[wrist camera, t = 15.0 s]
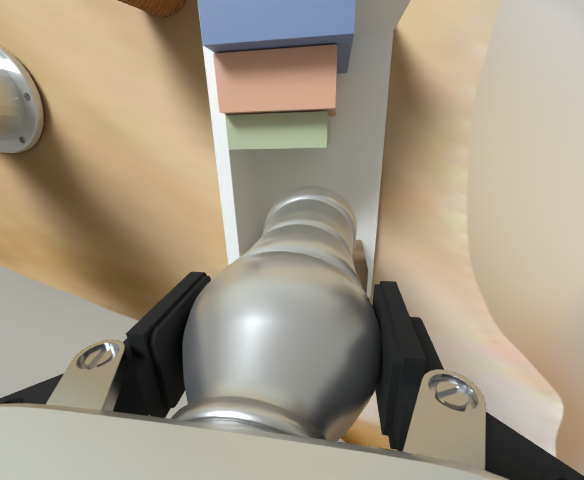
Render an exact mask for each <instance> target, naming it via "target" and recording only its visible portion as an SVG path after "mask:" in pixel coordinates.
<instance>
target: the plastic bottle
mask: <svg viewBox="0 0 584 480" xmlns="http://www.w3.org/2000/svg"><path fill="white" fill-rule="evenodd" d="M356 236H357V221H356V217H355V214H354V212H353V210H352V208H351V206H350V205H349V204H348V203H347V201H346V200H345V199H344V198H342V197H341V196H340V195H339V194H337V193H336V192H334V191H332V190H330V189H328V188H324V187H321V186H305V187H300V188H296V189H293V190H291V191H289V192H287V193H285V194H284V195H282V196H281V197H280V198H279V199H278V200H277V201H276V202H275V203H274V205H273V206H272V208H271V210H270V211H269V213H268V216H267V219H266V223H265V227H264V232H263V234H262V236H261V238H260V239H259V240H258V241H257V242H256V243H255V244H254V246H253V247H252V248H251V249H250V250H248V251H247V252H246V253H244V254H243V255H242V256H241V257H239V258H238V259H237V260H235V261H234V262H233V263H231V264H230V265H228V266H227V267H226V268H225V269H223V270H222V271H221V272H219V273H218V274H217V275H216V276H215V277H214V278H213V279H212V280H211V281H210V282H209V283H208V284H207V285H206V286H205V287H204V289H203V290H202V291H201V292H200V294H199V295H198V296H197V298H196V300H195V302H194V304H193V307H192V309H191V311H190V314H189V318H188V321H187V324H186V327H185V330H184V336H183V342H182V354H183V375H184V385H185V391H186V396H187V401H188V405H186V406H184V407H183V408H181V409H180V410H179V411H177V412H176V413H175V415H173V416H172V418H171V419H175V420H183V421H190V422H198V423H205V424H213V425H220V426H228V427H235V428H242V429H250V430H257V431H265V432H272V433H279V434H286V435H293V436H300V437H308V438H315V439H322V440H329V441H336V442H337V441H338V440H339V439H340V438H341V437H342V436H343V435H344V434H345V433H346V432H347V431H348V429H349V428H350V427H351V426H352V425H353V423H354V422H355V421H356V419H357V418H358V416H359V415H360V414H361V412H362V411H363V409H364V408H365V406H366V405H367V404H368V402H369V400H370V398H371V397H372V395H373V393H374V391H375V388H376V384H377V380H378V377H379V372H380V367H381V349H382V339H381V331H380V328H379V324H378V321H377V318H376V316H375V312H374V309H373V306H372V305H371V303H370V301H369V299H368V296H367V294H366V292H365V290H364V288H363V286H362V284H361V282H360V280H359V278H358V276H357V274H356V271H355V267H354V264H353V259H352V254H353V248H354V246H355V241H356Z"/></svg>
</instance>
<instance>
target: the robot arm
mask: <svg viewBox="0 0 584 480" xmlns="http://www.w3.org/2000/svg"><path fill="white" fill-rule="evenodd" d="M43 121H44V114H43V106H42V102H41V98H40V95H39V92H38V90H37V88H36V85H35V83H34V82H33V80H32V78H31V76H30V75H29V73H28V72H27V70H26V69H25V68H24V66H23V65H22V64H21V63H20V62H19V61H18V60H17V59H16V58H15V57H14V56H13V55H12V54H11V53H9V52H8V51H7V50H5V49H4V48H3V47H1V46H0V152H4V153H17V152H23V151H26V150H28V149H30V148H31V147H33V146H34V145H35V144H36V142H37V141H38V139H39V137H40V135H41V133H42V129H43ZM210 281H211V278H210V277H209V276H207V275H206V273H205V272H190V273H189V274H188V275H187V276H186V277H185V278H184V279H183V280H182V281H181V282H180V283H179V284H178V285H177V286H175V287H174V288H173V289H172V290H171V291H170V292H169V293H168V294H167V295H166V296H165V297H164V298H163V299H162V300H161V301H160V302H159V303H158V304H157V305H155V306H154V307H153V308H152V309H151V310H150V311H149V312H148V313H147V314H146V315H145V316H144V317H143V318H142V319H141V320H140V321H139V322H138V323H137V324H136V325H134V326H133V327H132V328H131V329H130V330H129V331H128V332H127V333H126V335H127V339H126V340H125V341H124V342H121V341H119V340H105V341H102V342H98V343H96V344H93V345H91V346H89V347H87V348H85V349H84V350H82V351H81V352H80V353H78V354H77V355H76V356H75V357H74V359H73V360H72V361H71V363H70V365H69V366H68V368H67V370H66V371H65V373H64V374H61V375H59V376H56V377H54V378H51V379H49V380H46V381H43V382H41V383H38V384H36V385H33V386H31V387H28V388H26V389H23V390H21V391H18V392H15V393H13V394H10V395H8V396H5V397H3V398H0V480H584V476H583V475H581V474H580V473H578V472H577V471H575V470H574V469H572V468H571V467H569V466H568V465H566V464H564V463H563V462H561V461H560V460H558V459H557V458H555V457H554V456H552V455H551V454H549V453H548V452H546V451H545V450H543V449H542V448H540V447H539V446H537V445H536V444H534V443H533V442H531V441H530V440H528V439H527V438H525V437H524V436H522V435H520V434H519V433H517V432H516V431H514V430H513V429H511V428H510V427H508V426H507V425H505V424H504V423H502V422H501V421H499V420H498V419H496V418H495V417H493V416H492V415H490V414H489V413H487V412H486V403H485V399H484V396H483V394H482V393H481V391H480V390H479V389H478V388H477V387H476V385H475V384H474V383H473V382H471V381H470V380H468V379H467V378H465V377H464V376H462V375H459V374H457V373H455V372H452V371H448V370H444V368H443V366H442V364H441V362H440V359H439V357H438V355H437V353H436V351H435V348H434V346H433V344H432V342H431V339H430V337H429V335H428V333H427V330H426V328H425V326H424V324H423V322H422V320H421V318H419V317H410V316H409V314H408V311H407V309H406V306H405V304H404V301H403V299H402V296H401V293H400V291H399V288H398V286H397V283H396V282H390V281H380V285H376V284H375V286H374V295H373V309H374V312H375V316H376V318H377V321H378V324H379V328H380V331H381V339H382V349H381V367H380V372H379V377H378V380H377V384H376V388H375V390H376V397H377V404H378V411H379V417H380V424H381V431H382V434H383V435H388V436H389V442H390V448H391V449H397V450H398V451H395V450H389V449H383V448H376V447H370V446H364V445H357V444H350V443H343V442H336V441H329V440H322V439H315V438H308V437H300V436H293V435H286V434H279V433H272V432H265V431H257V430H250V429H242V428H235V427H228V426H220V425H213V424H205V423H198V422H190V421H183V420H175V419H167V418H165V417H166V415H167V413H168V412H169V410H170V409H171V408H174V407H175V406H176V405H177V403H178V402H179V400H180V398H181V396H182V395H183V393H184V391H185V385H184V375H183V354H182V342H183V336H184V330H185V327H186V324H187V321H188V318H189V314H190V311H191V309H192V307H193V304H194V302H195V300H196V298H197V296H198V295H199V294H200V292H201V291H202V290H203V289H204V287H205V286H206V285H207V284H208V283H209V282H210ZM149 415H150V416H149Z"/></svg>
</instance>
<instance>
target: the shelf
mask: <svg viewBox="0 0 584 480" xmlns="http://www.w3.org/2000/svg"><path fill="white" fill-rule="evenodd" d="M197 2H198V10H199V19H200V27H201V36H202V44H203V53H204V61H205V70H206V78H207V87H208V95H209V104H210V112H211V121H212V129H213V137H214V146H215V154H216V163H217V171H218V180H219V188H220V197H221V205H222V214H223V222H224V231H225V239H226V248H227V256H228V264H229V265H230V264H231V263H233V262H234V261H235V260H237V259H238V258H239V257H241V256H242V255H243V254H244V253H246V252H247V251H248V250H250V249H251V248H252V247H253V246H254V244H255V243H256V242H257V241H258V240H259V239H260V238H261V236H262V234H263V232H264V227H265V223H266V219H267V216H268V213H269V211H270V210H271V208H272V206H273V205H274V203H275V202H276V201H277V200H278V199H279V198H280V197H281V196H282V195H284V194H285V193H287V192H289V191H291V190H293V189H296V188H300V187H305V186H321V187H324V188H328V189H330V190H332V191H334V192H336V193H337V194H339V195H340V196H341V197H342V198H344V199H345V200H346V201H347V203H348V204H349V205H350V206H351V208H352V210H353V212H354V214H355V217H356V221H357V236H356V240H361V241H362V245H363V249H364V254H365V258H366V263H367V267H368V281H367V296H368V297H371V289H372V278H373V266H374V254H375V242H376V231H377V219H378V207H379V195H380V184H381V172H382V160H383V149H384V137H385V125H386V113H387V102H388V90H389V78H390V66H391V55H392V43H393V31H394V29H395V27H396V25H397V24H398V22H399V20H400V18H401V16H402V15H403V13H404V11H405V9H406V7H407V6H408V4H409V2H410V0H197Z"/></svg>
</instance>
